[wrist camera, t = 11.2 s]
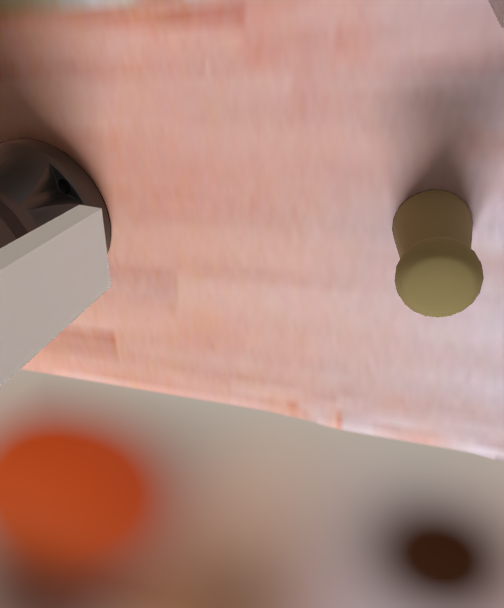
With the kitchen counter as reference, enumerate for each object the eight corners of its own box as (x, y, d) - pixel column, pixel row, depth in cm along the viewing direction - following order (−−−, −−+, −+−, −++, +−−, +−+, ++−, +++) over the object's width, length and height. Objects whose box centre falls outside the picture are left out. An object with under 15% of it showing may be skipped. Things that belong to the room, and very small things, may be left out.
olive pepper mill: (404, 182, 35) (403, 233, 26) (485, 198, 34) (513, 257, 25) (383, 251, 38) (375, 318, 29) (456, 268, 37) (471, 342, 28)
